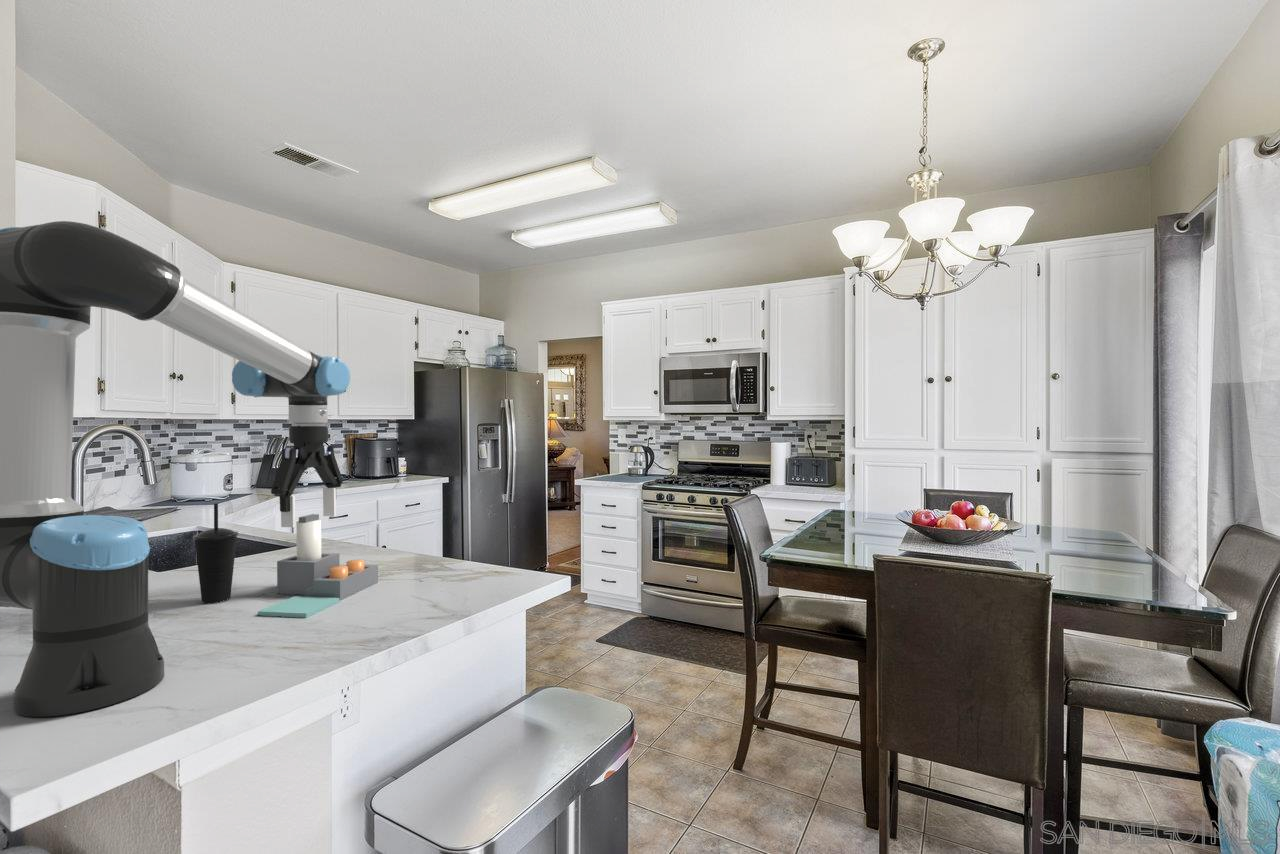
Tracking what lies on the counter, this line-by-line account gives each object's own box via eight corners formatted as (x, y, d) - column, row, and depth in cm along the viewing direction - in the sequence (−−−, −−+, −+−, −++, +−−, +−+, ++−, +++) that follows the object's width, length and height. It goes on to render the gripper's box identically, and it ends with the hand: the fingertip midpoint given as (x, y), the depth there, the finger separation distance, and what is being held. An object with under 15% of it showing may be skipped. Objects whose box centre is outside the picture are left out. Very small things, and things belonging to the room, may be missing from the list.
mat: (306, 617, 112) (306, 613, 112) (257, 615, 114) (257, 611, 114) (339, 601, 122) (339, 597, 122) (294, 600, 124) (294, 596, 124)
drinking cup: (221, 606, 120) (220, 506, 119) (183, 605, 120) (183, 506, 120) (247, 594, 127) (246, 501, 127) (211, 594, 127) (211, 501, 127)
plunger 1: (341, 593, 126) (341, 570, 126) (325, 593, 126) (325, 569, 126) (351, 589, 129) (351, 566, 129) (336, 588, 130) (336, 565, 130)
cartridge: (312, 592, 129) (311, 517, 129) (291, 591, 130) (291, 517, 130) (326, 586, 134) (326, 514, 134) (306, 585, 134) (306, 513, 134)
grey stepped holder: (340, 600, 123) (340, 566, 123) (267, 597, 125) (267, 564, 125) (378, 582, 137) (377, 551, 137) (312, 580, 139) (312, 550, 139)
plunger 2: (358, 586, 132) (358, 563, 132) (343, 585, 132) (342, 563, 132) (367, 581, 135) (367, 559, 135) (352, 581, 136) (352, 559, 136)
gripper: (283, 426, 119) (285, 532, 119) (358, 424, 143) (359, 512, 144) (249, 426, 120) (251, 531, 120) (329, 424, 144) (330, 511, 145)
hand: (310, 521), depth 132 cm, fingers open, 13 cm apart
